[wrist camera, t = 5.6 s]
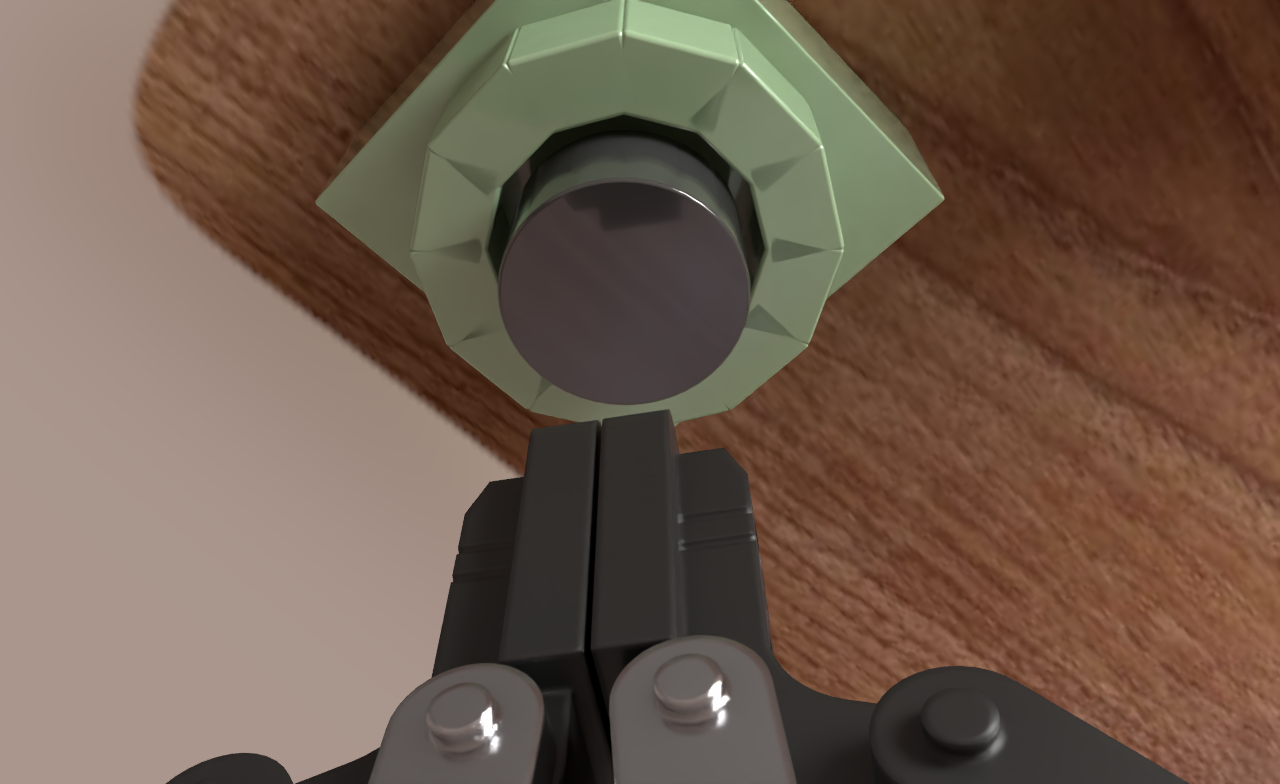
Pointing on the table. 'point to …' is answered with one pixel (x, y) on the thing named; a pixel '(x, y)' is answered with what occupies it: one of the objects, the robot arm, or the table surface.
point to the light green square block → (647, 101)
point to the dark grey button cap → (625, 269)
